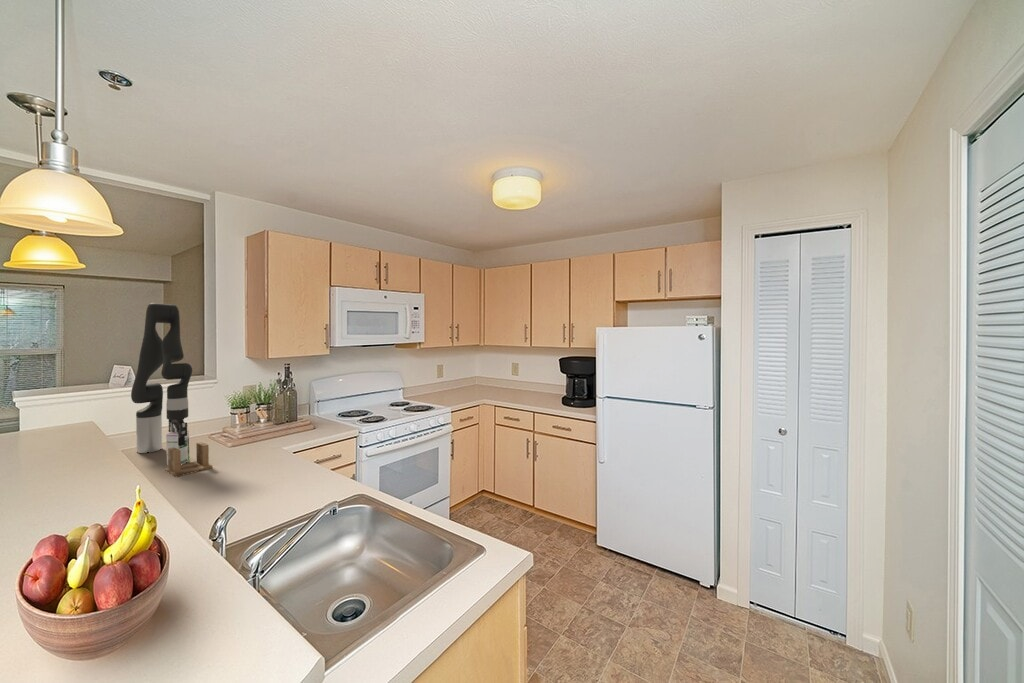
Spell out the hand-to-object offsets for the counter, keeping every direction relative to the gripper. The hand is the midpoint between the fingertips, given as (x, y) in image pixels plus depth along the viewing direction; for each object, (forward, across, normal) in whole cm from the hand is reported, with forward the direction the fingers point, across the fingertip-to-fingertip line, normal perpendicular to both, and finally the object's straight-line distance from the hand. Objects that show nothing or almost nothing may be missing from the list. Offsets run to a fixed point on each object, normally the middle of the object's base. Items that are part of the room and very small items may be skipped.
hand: (177, 443), depth 179 cm
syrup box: (+9, 0, 0) cm, 9 cm away
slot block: (+9, +12, 0) cm, 15 cm away
